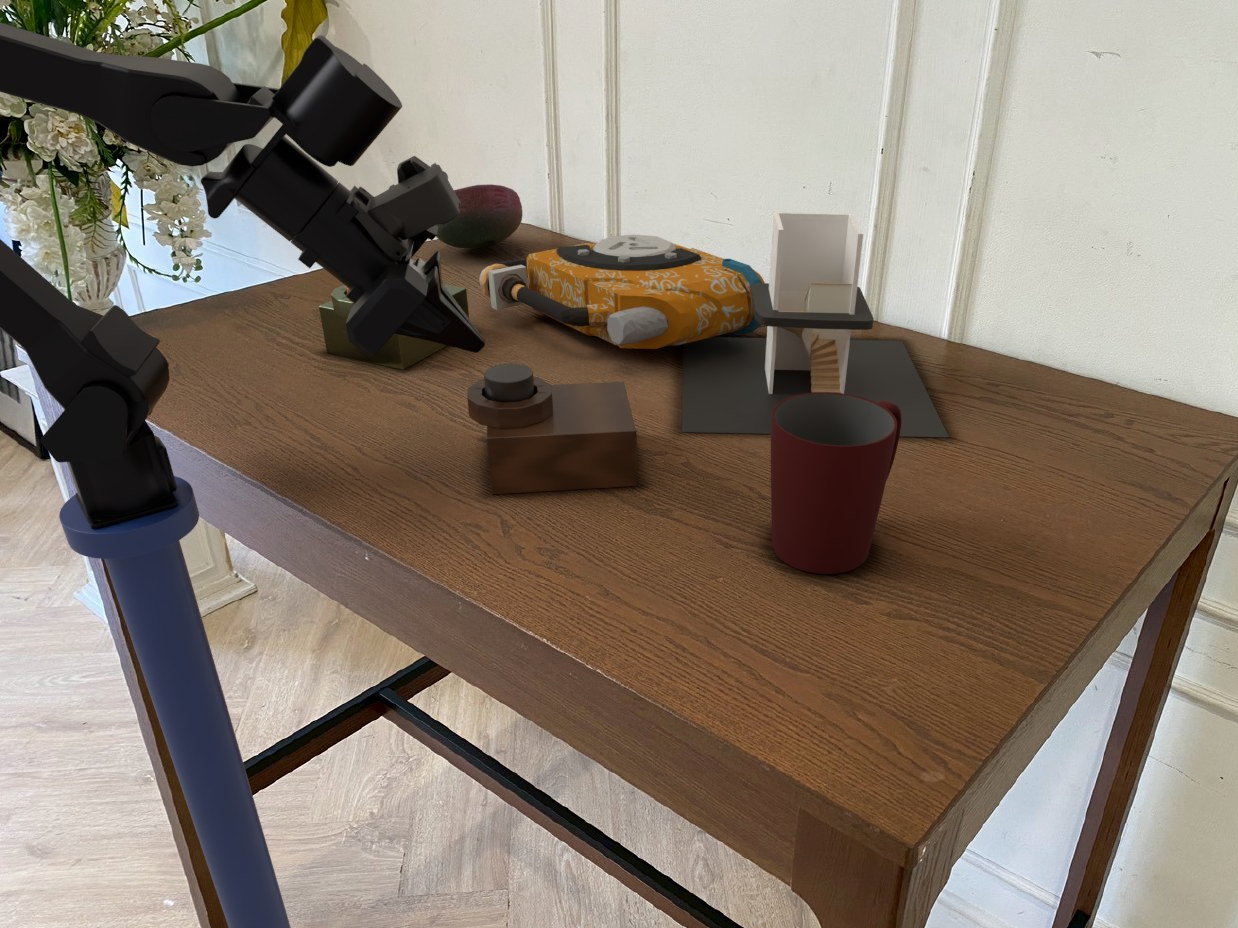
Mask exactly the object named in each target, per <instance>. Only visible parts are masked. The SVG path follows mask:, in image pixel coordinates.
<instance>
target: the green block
mask: <svg viewBox="0 0 1238 928" xmlns="http://www.w3.org/2000/svg"><path fill="white" fill-rule="evenodd" d="M443 284H444V285H445V287H446V288H447V290H448V291H449V292H450V294H451V295H452V297H453V298H454V299H455V301H456V302H457V303H458V305H459V306H460V307H461V309H462V310H463V311H464V313H465V314H466V315H467V317H468V318H469V319H470V313H469V303H468V302H469V301H468V292H467V290H468V289H467V288H466V287H462V286H456V285H451V284H445V283H443ZM346 295H347V289H346V285H344V284H343V285H340V286H338V287H336V288H334V289H333V290H332V293H331V294H330V296H331V300H330V301H327V302H325V303H323V304H320V305H318V309H319V310H318V311H319V315H320V321H321V327H322V333H323V338H324V344H325V350H326V353H327V354H331V355H334V356H335V355H336V356H339V357H344V358H348V359H354V360H357V361H362V362H366V363H370V364H376V365H379V366H383V367H388V368H393V369H397V370H401V371H403V370H406V369H408V368H410V367H411V366H413V365H415V364H416V363H419V362H420V361H422V360H423V359H426V358H427V357H429V356H432V355H433V354H435V353H436V352H438V351H440V350H442V349H444V348H446V347H448V346H447V345H443V344H440V343H436V342H431V341H427V340H423V339H418V338H414V337H409V336H404V335H399V334H394V335H393V336H392V337H391V338H390V339H389V340H388V341H387V342H386V343H385V345H384V346H383V347H382V348H381V349H380V350H379V351H378V352H377V353H376V355H375V356H373V357H371V358H370V357H368V356H367V355H366V354H364V353H363V352H362V351H360V350H359V349H358V348H356V347H355V346H354V345H352V344H351V343H350V342H349V341H348V335H347V329H346V322H347V319H348V316H349V313H350V310H351V308H352V307H353V305H354V304H355V303H354V302H352V301H351V300H350V299H348V298H347V297H346Z"/></svg>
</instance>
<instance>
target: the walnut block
mask: <svg viewBox="0 0 1238 928" xmlns="http://www.w3.org/2000/svg"><path fill="white" fill-rule="evenodd" d="M533 380H534V396H533V397H532V398H530V399H527V400H523V401H520V402H506V403H502V402H497V401H491V400H488V399H487V398H486V394H485V383H484V378H482V379H481V378H480V379H479V380H477V381H476V382H475V383H473V384H472V385H470V386H469V387H468V388H467V394H466V395H467V397H466V399H467V408H468V409H467V410H468V416H469V418H470V419H472V420H473V421H474V422H476V423H477V424H479V425H480V426H484V427H486V446H487V447H486V448H487V458H488V469H489V470H488V471H489V480H490V490H491V495H505V494H522V493H523V494H525V493H538V492H539V493H540V492H542V493H543V492H559V491H575V490H589V489H590V490H591V489H592V490H593V489H607V488H609V489H610V488H624V487H625V488H626V487H627V488H628V487H637V485H638V481H637V479H638V477H637V476H638V475H637V465H638V464H637V463H638V462H637V458H638V457H637V427H636V424H635V421H634V417H633V412H632V408H631V404H630V401H629V398H628V393H627V389H626V386H625V383H624V381H609V382H585V383H584V382H583V383H563V384H562V383H561V384H551V383H549V382H548V381H546V380H544V379H543V378H540V377H539V376H534V375H533Z"/></svg>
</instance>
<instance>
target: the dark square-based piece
mask: <svg viewBox="0 0 1238 928" xmlns="http://www.w3.org/2000/svg"><path fill="white" fill-rule="evenodd" d="M771 232H772V233H771V247H770V263H769V266H770V267H769V281H768V282H767V283H766V282H765V283H755V284H752V285H751V297H752V303H753V310H754V316H755V320H756V321H757V322H758V323H759V324H760V325H761V326H764V327H766V337H730V336H728V337H727V336H714V337H710V338H706V339H702V340H698V341H693V342H689V343H685V344H682V381H681V383H682V388H681V389H682V390H681V391H682V392H681V394H682V395H681V433H707V434H708V433H709V434H711V433H712V434H753V435H754V434H755V435H756V434H758V435H759V434H762V435H764V434H765V435H771V422H772V412H773V409H774V408H775V406H776V405H777V404H778V403H780V402H781V401H783V400H785V399H787V398H790V397H792V396H796V395H800V394H806V393H814V392H832V393H843V394H849V395H854V396H858V397H862V398H866V399H868V400H871V401H874V402H876V403H878V402H880V401H889V402H891V403H894V404H896V405H897V406H898V407H899V409H900V411H901V417H902V422H901V431H900V437H907V438H908V437H909V438H910V437H911V438H917V437H918V438H949V437H950V436H949V434H948V431H947V430H946V428H945V426H944V424H943V421H942V420H941V418H940V416H939V414H938V412H937V409H936V407H935V405H934V403H933V401H932V400H931V397H930V395H929V392H928V391H927V388H926V387H925V385H924V383H923V381H922V378H921V377H920V375H919V373H918V371H917V368H916V367H915V365H914V361H912V358H911V356H910V354H909V351H908V350H907V347H906V345H905V344H904V342H903V340H871V339H870V340H867V339H865V340H864V339H861V340H860V339H851V335H852V334H851V333H852V330H853V331H854V330H855V331H856V330H857V331H868V330H873V328H874V316H873V314H872V312H871V308H870V306H869V305H868V303H867V300H866V298H865V296H864V293H863V291H862V289H861V287H860V286H858V285H859V277H860V268H861V267H860V266H861V258H862V249H863V239H864V232H863V231H862V229H861V227H860V224H859V223H858V221H857V219H856V217H855V215H854V214H853V213H838V212H837V213H835V212H834V213H833V212H797V211H795V212H794V211H792V212H790V211H788V212H787V211H773V214H772V231H771Z"/></svg>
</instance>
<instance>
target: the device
mask: <svg viewBox="0 0 1238 928" xmlns="http://www.w3.org/2000/svg"><path fill="white" fill-rule="evenodd" d="M478 281H479V286H480V287H481V289H482V291H483V295H485V296H486V297H487V298H488V299H490V307H491V308H492V309H493V310H495V311H500V310H501V311H502V310H504V309H509V308H513V307H517V306H521V305H527V306H528V307H530V308H532V309H533V310H535V311H537V312H539V313H541V314H542V315H544V316H547V317H549V318H551V319H553V320H555V321H557V322H559V323H562V324H563V325H565V326H568V327H570V328H571V329H574V330H576V331H578V332H580V333H582V334H584V335H586V336H589V337H592V336H593V337H594V336H595V337H598V338H599V339H602V340H604V341H606V342H608V343H610V344H612V345H614V346H616V347H617V346H618V347H619V348H620V349H642V350H643V349H644V350H645V349H647V350H649V349H650V350H656V349H657V350H658V349H660V348H664V347H667V346H681V345H683V344H685V343H689V342H693V341H698V340H702V339H706V338H710V337H719V336H721V335H726V334H729V333H732V334H734V335H737V336H738V337H739V336H743V335H748V334H752V333H754V332H755V331H756V330H757V329H759V328H760V327H761V326H762V325H760V324H759V323H758V322H757V321H756V320H755V316H754V310H753V303H752V297H751V285H752V284H755V283H766V282H765V280H764V278H763V276H762V275H761V273H759V272H758V271H756V270H755V269H754V268H753V267H751V265H750V264H747V263H743V262H741V261H738V260H736V259H732V258H723V257H720V256H716V255H715V254H711V253H709V252H705V251H702V250H700V249H697V248H694V247H691V248H688V247H685V246H682V245H679V244H676V243H673V242H672V241H671V240H667V239H665V238H662V237H660V236H657V235H645V234H624V235H623V234H622V235H613V236H609V237H606V238H603V239H600V240H599V241H598V242H595V243H594V242H593V243H590V242H585V243H579V244H574V245H568V246H560V247H558V248H554V249H548V250H542V251H537V252H532V253H528V255H527V257H525V259H514V260H513V259H512V260H508V261H507V260H506V261H502V262H496V263H492V264H490V265H487V266H485V267H484V268H483V269H482V270H481V273H480V274H479V279H478Z"/></svg>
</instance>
